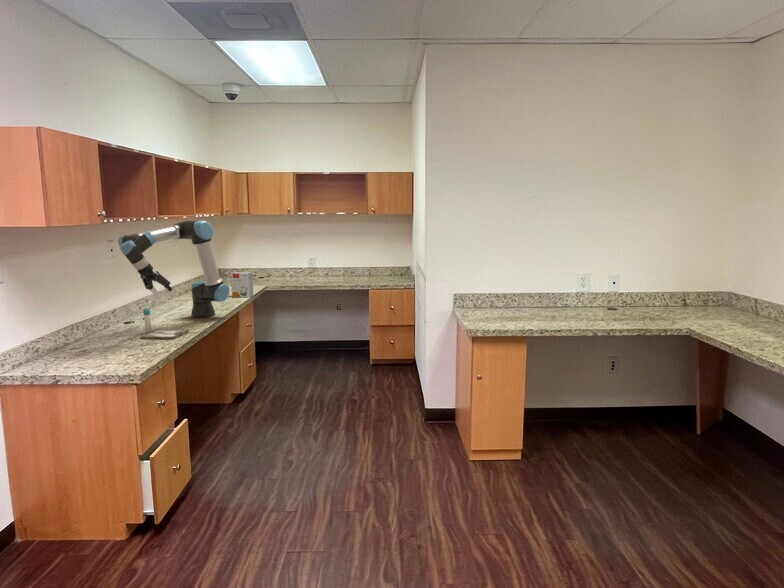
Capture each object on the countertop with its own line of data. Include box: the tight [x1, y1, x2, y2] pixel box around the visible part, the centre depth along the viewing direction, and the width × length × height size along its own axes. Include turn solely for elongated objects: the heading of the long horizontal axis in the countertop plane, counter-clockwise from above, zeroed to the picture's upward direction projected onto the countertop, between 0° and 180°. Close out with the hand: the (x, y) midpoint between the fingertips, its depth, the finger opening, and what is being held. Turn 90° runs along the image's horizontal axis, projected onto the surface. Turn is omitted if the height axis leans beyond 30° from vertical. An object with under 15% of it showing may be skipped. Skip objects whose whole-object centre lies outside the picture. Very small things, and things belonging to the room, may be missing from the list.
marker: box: [142, 308, 153, 334], centre depth 293 cm, size 3×3×14 cm
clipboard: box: [139, 329, 190, 340], centre depth 286 cm, size 16×20×2 cm
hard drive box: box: [230, 271, 255, 299], centre depth 405 cm, size 16×8×20 cm, turn 77°
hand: (166, 296), depth 288 cm, fingers open, 13 cm apart
